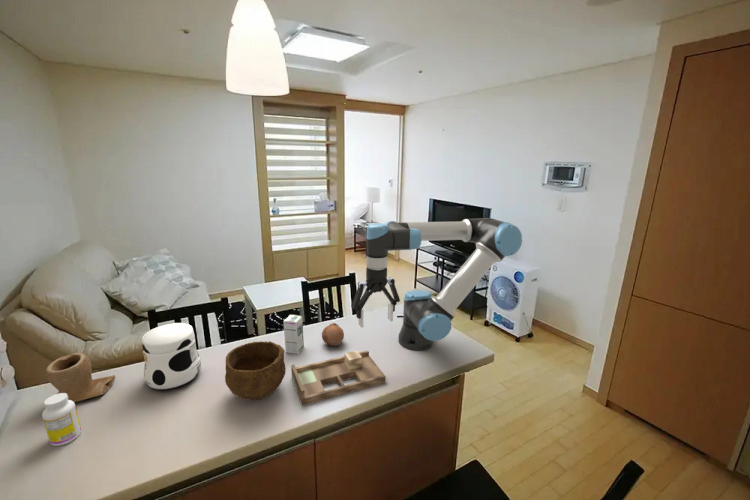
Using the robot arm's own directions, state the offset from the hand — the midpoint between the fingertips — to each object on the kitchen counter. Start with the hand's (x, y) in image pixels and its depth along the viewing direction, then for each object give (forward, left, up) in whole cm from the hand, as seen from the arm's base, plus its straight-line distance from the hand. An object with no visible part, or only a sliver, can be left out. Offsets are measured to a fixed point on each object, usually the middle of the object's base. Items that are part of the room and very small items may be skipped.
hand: (375, 322), depth 126 cm
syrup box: (+26, -23, -18) cm, 39 cm away
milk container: (+69, -21, -18) cm, 74 cm away
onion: (+10, -21, -18) cm, 30 cm away
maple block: (+9, 0, -16) cm, 18 cm away
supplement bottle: (+94, -3, -18) cm, 96 cm away
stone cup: (+95, -22, -18) cm, 99 cm away
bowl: (+43, -1, -18) cm, 47 cm away
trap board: (+16, +2, -18) cm, 24 cm away
